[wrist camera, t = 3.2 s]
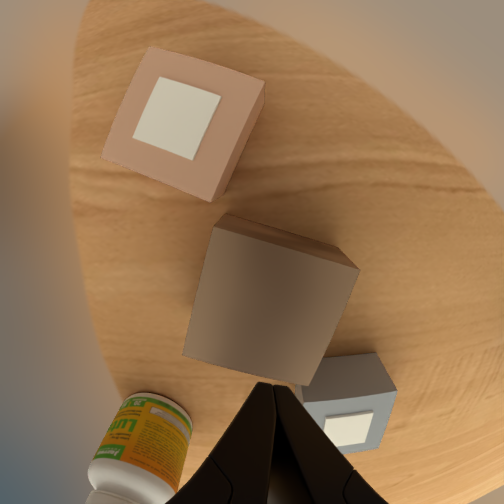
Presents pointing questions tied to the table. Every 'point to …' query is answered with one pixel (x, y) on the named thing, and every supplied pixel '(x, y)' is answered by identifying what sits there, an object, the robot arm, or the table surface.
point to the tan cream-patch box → (185, 122)
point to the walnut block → (267, 301)
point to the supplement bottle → (141, 453)
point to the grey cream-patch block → (350, 400)
